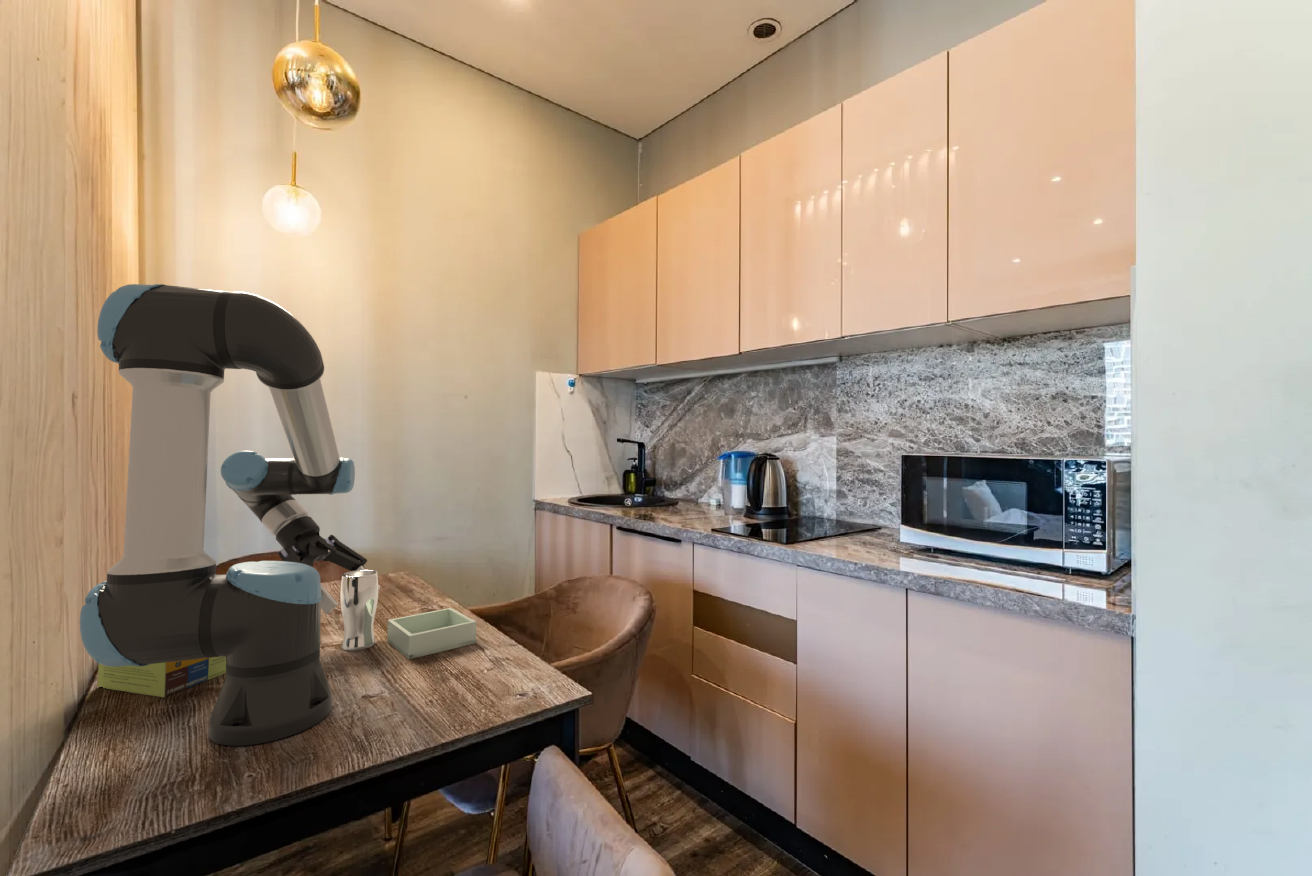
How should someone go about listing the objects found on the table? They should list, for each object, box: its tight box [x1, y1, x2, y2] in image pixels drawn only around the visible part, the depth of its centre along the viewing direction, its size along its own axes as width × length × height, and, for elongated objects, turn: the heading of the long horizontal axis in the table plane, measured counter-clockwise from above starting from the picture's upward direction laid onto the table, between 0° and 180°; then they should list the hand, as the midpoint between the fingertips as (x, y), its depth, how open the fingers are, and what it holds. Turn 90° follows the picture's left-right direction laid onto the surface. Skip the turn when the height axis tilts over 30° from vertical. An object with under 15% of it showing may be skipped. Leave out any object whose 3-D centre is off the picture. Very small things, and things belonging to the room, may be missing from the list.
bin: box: [386, 607, 477, 660], centre depth 116 cm, size 14×14×4 cm
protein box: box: [97, 656, 226, 698], centre depth 96 cm, size 10×15×16 cm
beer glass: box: [339, 569, 379, 652], centre depth 114 cm, size 7×7×15 cm
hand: (355, 600), depth 115 cm, fingers open, 13 cm apart
